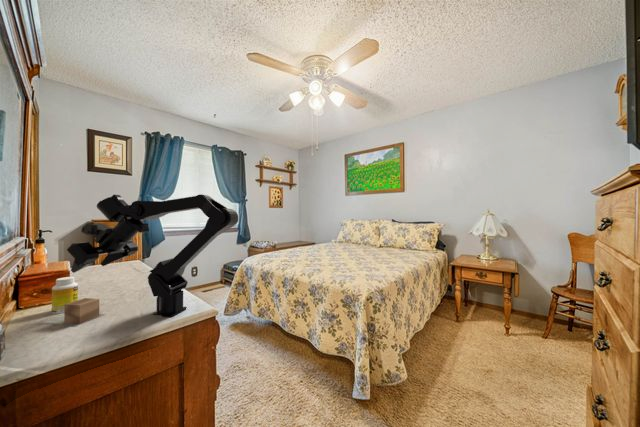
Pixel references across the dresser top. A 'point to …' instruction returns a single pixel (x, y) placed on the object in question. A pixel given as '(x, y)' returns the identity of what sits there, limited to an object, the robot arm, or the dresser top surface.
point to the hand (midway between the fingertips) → (88, 268)
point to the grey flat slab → (60, 321)
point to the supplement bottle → (63, 293)
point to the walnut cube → (81, 311)
